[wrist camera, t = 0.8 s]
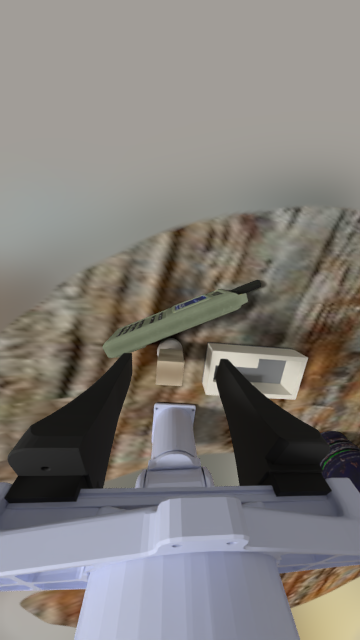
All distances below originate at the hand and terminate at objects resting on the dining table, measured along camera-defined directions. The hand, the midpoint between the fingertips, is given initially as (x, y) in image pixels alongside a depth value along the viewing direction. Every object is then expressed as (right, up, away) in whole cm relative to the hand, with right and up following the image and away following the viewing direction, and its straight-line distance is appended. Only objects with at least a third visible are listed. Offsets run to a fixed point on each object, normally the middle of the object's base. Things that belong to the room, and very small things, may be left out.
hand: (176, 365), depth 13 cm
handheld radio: (+1, +5, +15) cm, 16 cm away
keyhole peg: (-1, -2, +16) cm, 16 cm away
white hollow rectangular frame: (+12, -5, +17) cm, 22 cm away
